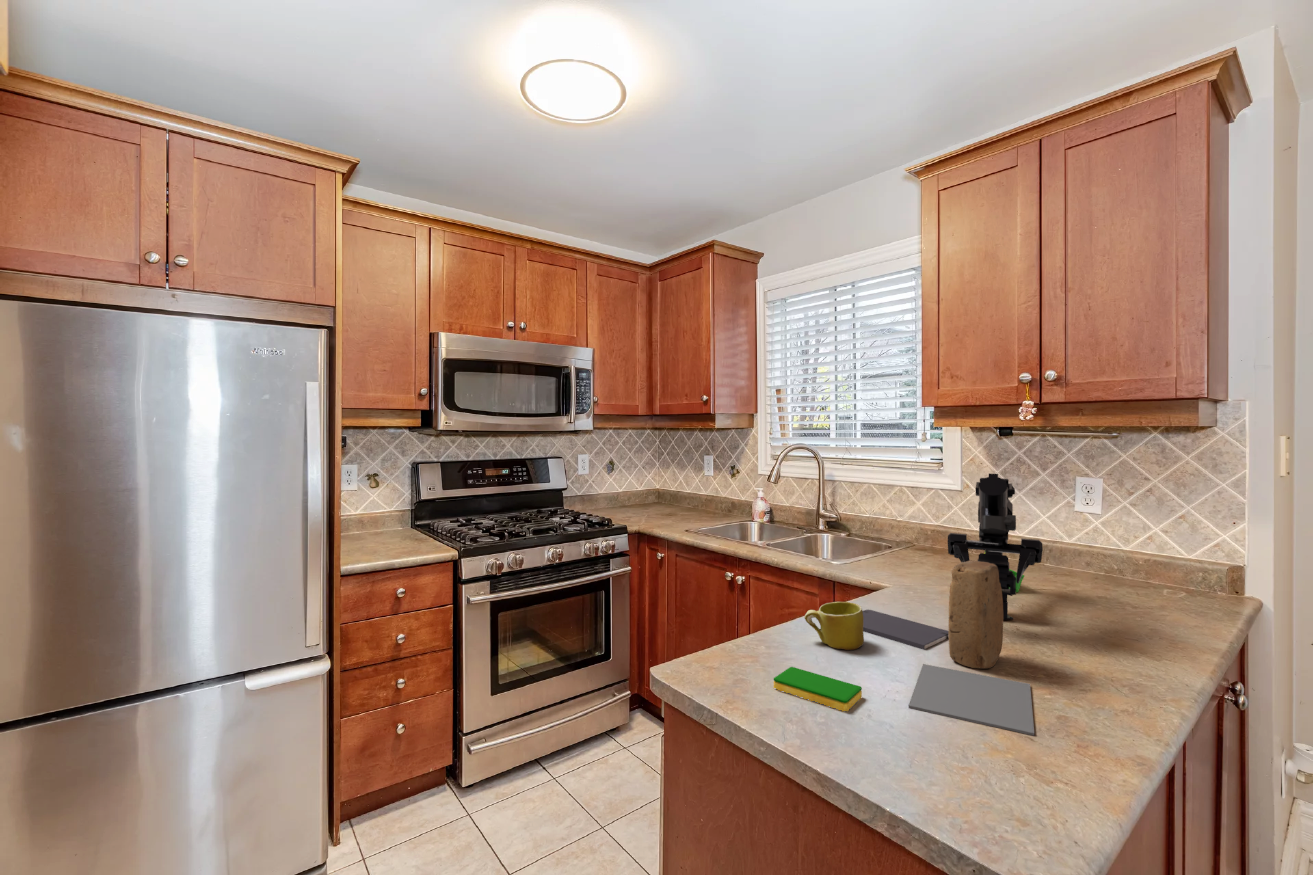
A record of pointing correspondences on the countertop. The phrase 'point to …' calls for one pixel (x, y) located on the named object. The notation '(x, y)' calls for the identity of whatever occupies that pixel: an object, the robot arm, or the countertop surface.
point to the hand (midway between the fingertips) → (993, 579)
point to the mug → (839, 624)
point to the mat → (974, 698)
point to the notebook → (902, 630)
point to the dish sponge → (818, 688)
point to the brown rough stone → (975, 614)
